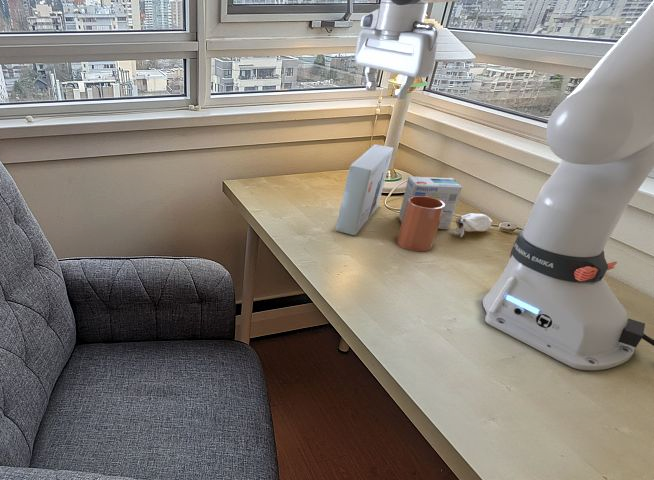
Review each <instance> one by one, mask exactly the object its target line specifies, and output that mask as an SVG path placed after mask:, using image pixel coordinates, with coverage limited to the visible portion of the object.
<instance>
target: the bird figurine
mask: <svg viewBox="0 0 654 480" xmlns="http://www.w3.org/2000/svg"><path fill="white" fill-rule="evenodd" d="M493 223H494V222H493V220H492V219H491V218H490V217H489V216H488V214H484V213H475V212H474V213H473V212H470V213H466V214H464V215H461V216H459V217H457V218H456V220H455V224H456V227H455V228H453V229H452V230H451V232H450V234H451V235H453V234H454V236H456V235H459V237H460V238H461V239H463V236H464V235H465V232H485V231H488V230H493V229H495V227H494V226H493V227H492V225H493Z"/></svg>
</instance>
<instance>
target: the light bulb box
mask: <svg viewBox="0 0 654 480" xmlns="http://www.w3.org/2000/svg"><path fill="white" fill-rule="evenodd" d="M406 181H407V182H406V186H405V190H404V194H403V197H402V202H401V207H400V209H399V214H398V219H399V220H400V223H402V220H403V216H404V212H405V208H406V204H407V201H408V198H410V197H412V196H428V197H433V198H436V199H439V200H441V201H442V202H444V203H445V207H444V210H443V214H442V217H441V220H440V223H439V226H438V230H449V229H450V227H451V224H452V220H453V217H454V215H455V211H456V207H457V205H458V202H459V198H460V195H461V192H462V188H463V186H462V185H461V184H460V183H459V182H458V181H457V180H456V179H455V178H454V177H436V176H435V177H434V176H433V177H432V176H431V177H430V176H429V177H428V176H409V175H408V177H407V180H406Z"/></svg>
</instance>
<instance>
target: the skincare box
mask: <svg viewBox="0 0 654 480" xmlns="http://www.w3.org/2000/svg"><path fill="white" fill-rule="evenodd" d="M394 148H395V147H391V146H388V145H387V146H386V145H380V144H377V143H376V144H375V143H374V144H372V145H371V147H370V148H368V149H367V150H366V151H364V153H363V154H362V155H361V156H359V157H358V158H357V159H356V160H355V161H354V162H352V163H351V164H350V165H349V169H348V173H347V178H346V181H345V187H344V189H343V195H342V198H341V203H340V204H341V205H340V209H339V211H338V212H339V213H338V217H337V221H336V224H335V231H336V232H338V233H339V232H340V233H343V234H347V235H351V236H356V235H357V234H358V233H359V231H360V230H361V229H362V228H363V226H364V225H365V224H366V222H367V221H368V220H369V219H370V218H371V217H372V215H373V214H374V212H375V211H376V210H377V209H378V208H379V204H380V201H381V197H382V192H383V189H384V185H385V181H386V179H387V175H388V171H389V167H390V163H391V159H392V157H393V156H392V155H393V152H394Z"/></svg>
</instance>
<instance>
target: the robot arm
mask: <svg viewBox="0 0 654 480" xmlns="http://www.w3.org/2000/svg"><path fill="white" fill-rule="evenodd" d="M457 1H458V0H380V5H379V8H377V9H375V10H373V11H371V12H369V13H367V14H364V15H362V16H361V18H360V23H359V25H360V28H362V29H360V31H359V34H358V36H357V40H356V41H357V43H356V47H355V51H354V61H355V65H356V66H360V67H365V70H364V75H365V80H366V84H365V90H366V91H369V92H375V91H376V90H377V86H378V81H376V73H377V72H378V71H384V72H387V73H392V74H395V75H401V76H402V77H401V81H402V83H401V85H400V87H399V88H396V89H395V94H394V98H395V99H398V100H405V99H406V98H407V96H408V95H407V94H408V91H409V89H410V88H411V87H412V86H413V84H414V83H415V81H416V79H421V78H429V76H430V75H431V74H432V73H433V70H434V66H435V61H436V55H437V47H438V36H439V31H438V29H437V27H436V26H435V25H436V24H435V23H432V22H425V19H426V15H427V11H428V5H429V4H430V3H431V4H433V3H435V4H437V3H452V2H453V3H454V2H457ZM545 137H546V142H547V144H548V147H549V149H550V150H551V152H552V153H553V154H554V155H555V156H556V157H557V158H558V159H560V160H561V161H560V162H559V163H558V165H557V166H556V168H555V169H554V171H553V173H552V174H551V175H550V176H549V178H548V179H547V180H546V181H545V182H544V184H542V186H541V188H540V190H539V192H538V194H537V197H536V199H535V202H534V203H533V206H532V209H531V211H530V213H529V216H528V218H527V220H526V223H525V225H524V227H523V229H522V230H520V231H519V233H518V235H517V237H516V238H515V241H514V243H513V245H512V248H511V250H510V255H509V260H508V262H507V264H506V266H505V267H504V269H503V271H502V273H501V274H500V276H499V277H498V279H497V280H496V282H495V283H494V285H493V286H492V288H491V289H490V290H489V291H488V293H486V294H485V295H484V297H483V298H482V306H483V309H484V310H485V313H486V315H485V317H484V322H485V323H487V325H489V326H491V327H493V328H495V329H497V330H499V331H501V332H503V333H505V334H506V335H508V336H510V337H512V338H514V339H516V340H518V341H520V342H522V343H523V344H526V345H528V346H530V347H532V348H533V349H535V350H537V351H540V352H541V353H543V354H545V355H547V356H549V357H550V358H553V359H555V360H557V361H559V362H561V363H563V364H564V365H566V366H569V367H571V368H573V369H575V370H581V371H602V370H608V369H611V368H615V367H618V366H620V365H622V364H624V363H626V362H628V361H629V360H630V359H631V358H632V357H633V355H634V353H635V351H636V349H635V348H637V346H638V345H639V343H640V342H641V341H642V340H644V341H645V342H647V343H648V344H650V345H651V346H653V347H654V338H651V337H650V336H648V335H647V334H645V333H644V332H645V327H646V323H645V322H642V321H639V320H635V319H632V318H629V314H628V312H627V310H626V309H625V307H624V306H623V304H622V303H621V302H620V301H619V299H618V298H617V296H616V294H615V293H614V292H613V290H612V288H611V287H610V285H609V284H608V283H607V281H606V279H605V278H604V277H605V275H606V273H607V271H610V270H613V269H614V268H615V266H616V265H617V263H618V261H611V262H608V263H607V260H606V257H605V250H604V249H605V247H606V245H607V244H608V242H609V241H610V240H609V239H610V238H611V237H612V235H613V232H614V231H615V229H616V227H617V225H618V223H619V222H620V220H621V218H622V216H623V214H624V212H625V210H626V209H627V207H628V206H629V204H630V202H631V201H632V199H633V198H634V196H635V194H636V193H637V192H638V191H639V189H640V188H641V186H642V185H643V183H644V182H645V181H646V179H647V178H648V176H649V175H650V174H651V172H652V170H653V169H654V0H652V1H651V2H650V4H649V5H648V6H647V8H646V9H645V10H644V12H643V13H642V14H641V15H640V17H639V18H637V20H636V21H635V22H634V23H633V24H632V25H631V27H630V28H629V29H628V30H627V31H626V32H625V33H624V34H623V35H622V36H621V38H619V39H618V41H616V43H615V44H614V45H613V46H612V47H611V48H610V49H609V50H608V51H607V53H606V54H605V55H604V56H603V57H602V58H601V59H600V60H599V61H598V63H597V64H596V65H595V66H594V67H593V68H592V69H591V70H590V72H588V73H587V75H586V77H584V79H583V80H582V81H581V82H580V83H579V84H578V86H577V87H576V88H575V89H574V90H573V91H572V92H571V93H570V94H568V95H567V97H565V99H563V100H562V101H561V102H560V103H559V104H558V105H557V106H556V107H555V109H554V110H553V111H552V112H551V115H550V116H549V118H548V120H547V123H546V129H545Z"/></svg>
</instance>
